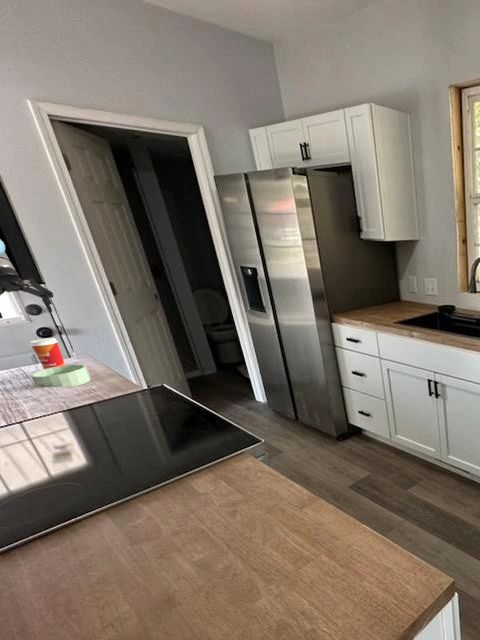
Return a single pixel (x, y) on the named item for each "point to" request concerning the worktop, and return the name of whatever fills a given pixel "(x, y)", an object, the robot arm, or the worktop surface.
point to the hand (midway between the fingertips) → (26, 313)
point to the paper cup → (48, 352)
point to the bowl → (61, 376)
